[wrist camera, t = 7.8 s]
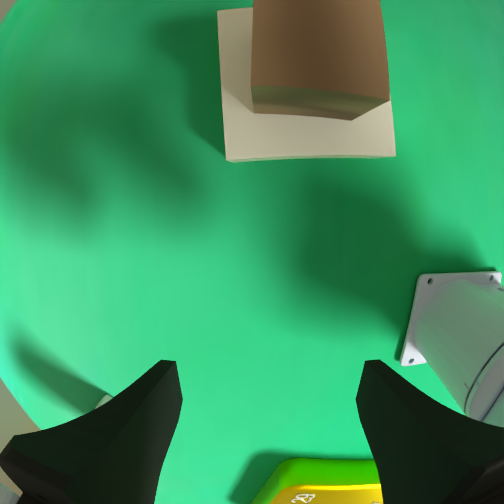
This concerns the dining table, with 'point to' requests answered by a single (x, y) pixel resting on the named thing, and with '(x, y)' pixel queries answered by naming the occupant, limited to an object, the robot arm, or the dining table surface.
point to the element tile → (322, 482)
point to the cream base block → (286, 126)
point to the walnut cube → (318, 58)
